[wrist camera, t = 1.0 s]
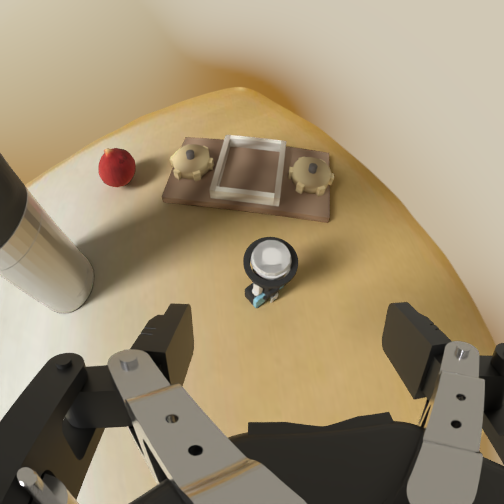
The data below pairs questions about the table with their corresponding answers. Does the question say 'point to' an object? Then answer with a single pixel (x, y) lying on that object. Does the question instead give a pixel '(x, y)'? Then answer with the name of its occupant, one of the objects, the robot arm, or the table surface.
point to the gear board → (251, 177)
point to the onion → (116, 167)
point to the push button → (268, 268)
